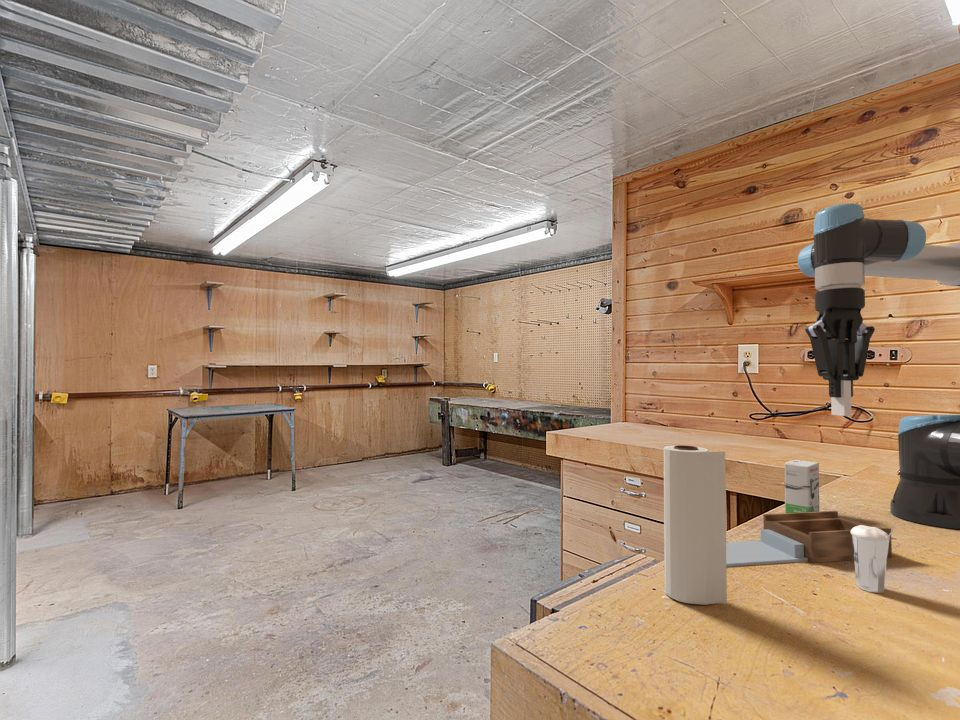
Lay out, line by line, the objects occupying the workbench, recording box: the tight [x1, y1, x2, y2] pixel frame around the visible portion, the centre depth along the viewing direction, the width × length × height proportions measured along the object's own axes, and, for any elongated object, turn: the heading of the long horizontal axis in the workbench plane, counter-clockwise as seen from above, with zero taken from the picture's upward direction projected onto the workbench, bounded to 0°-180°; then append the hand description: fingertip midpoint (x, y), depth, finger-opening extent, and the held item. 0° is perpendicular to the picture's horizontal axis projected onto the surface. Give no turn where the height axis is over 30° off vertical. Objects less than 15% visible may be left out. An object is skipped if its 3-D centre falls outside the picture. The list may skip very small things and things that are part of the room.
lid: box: [726, 529, 809, 568], centre depth 86 cm, size 16×9×3 cm, turn 99°
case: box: [762, 510, 893, 564], centre depth 89 cm, size 16×11×5 cm
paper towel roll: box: [663, 444, 728, 606], centre depth 69 cm, size 7×6×21 cm
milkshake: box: [850, 524, 896, 594], centre depth 72 cm, size 4×5×10 cm
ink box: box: [784, 459, 820, 513], centre depth 111 cm, size 9×5×12 cm, turn 131°
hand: (841, 415), depth 90 cm, fingers closed
